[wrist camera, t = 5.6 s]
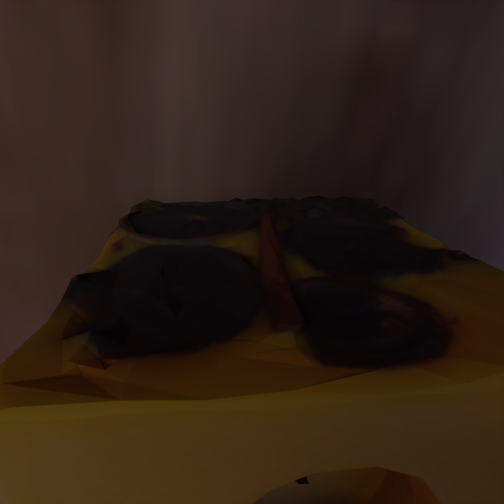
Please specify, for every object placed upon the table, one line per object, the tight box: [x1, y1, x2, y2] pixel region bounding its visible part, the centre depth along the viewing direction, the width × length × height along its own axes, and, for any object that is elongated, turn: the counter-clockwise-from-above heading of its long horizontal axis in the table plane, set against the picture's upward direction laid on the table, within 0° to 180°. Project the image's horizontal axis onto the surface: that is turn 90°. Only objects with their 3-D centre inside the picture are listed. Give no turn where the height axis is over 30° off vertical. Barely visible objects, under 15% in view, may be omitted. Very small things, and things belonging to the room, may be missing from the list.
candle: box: [0, 196, 504, 504], centre depth 10 cm, size 10×10×10 cm
